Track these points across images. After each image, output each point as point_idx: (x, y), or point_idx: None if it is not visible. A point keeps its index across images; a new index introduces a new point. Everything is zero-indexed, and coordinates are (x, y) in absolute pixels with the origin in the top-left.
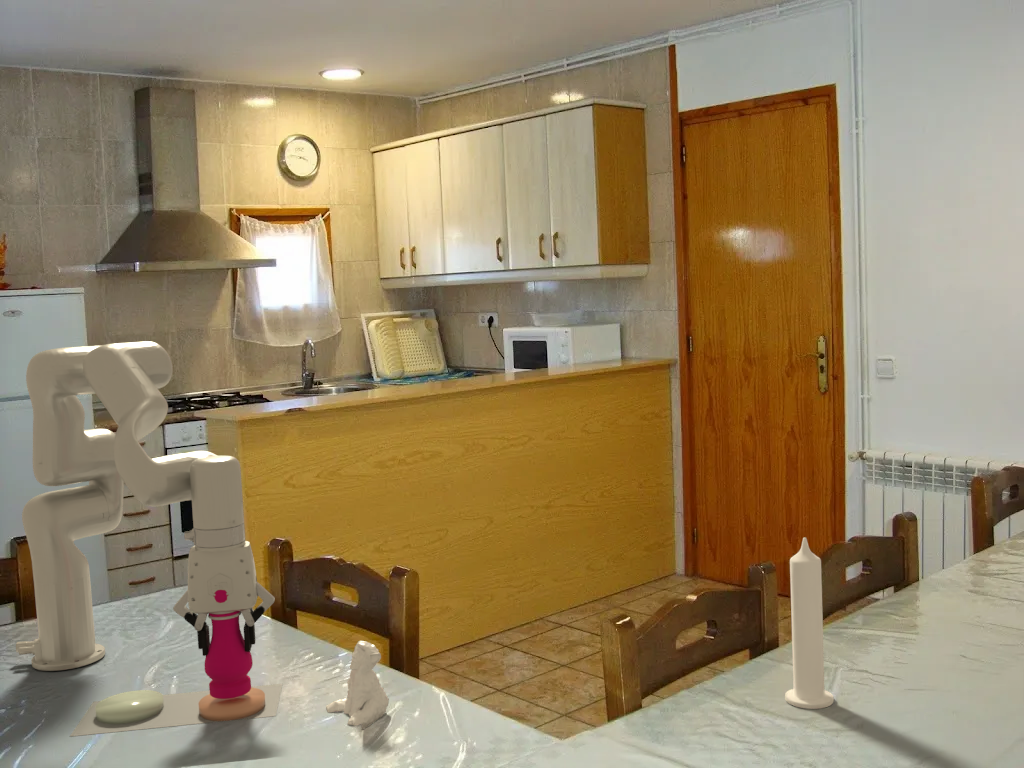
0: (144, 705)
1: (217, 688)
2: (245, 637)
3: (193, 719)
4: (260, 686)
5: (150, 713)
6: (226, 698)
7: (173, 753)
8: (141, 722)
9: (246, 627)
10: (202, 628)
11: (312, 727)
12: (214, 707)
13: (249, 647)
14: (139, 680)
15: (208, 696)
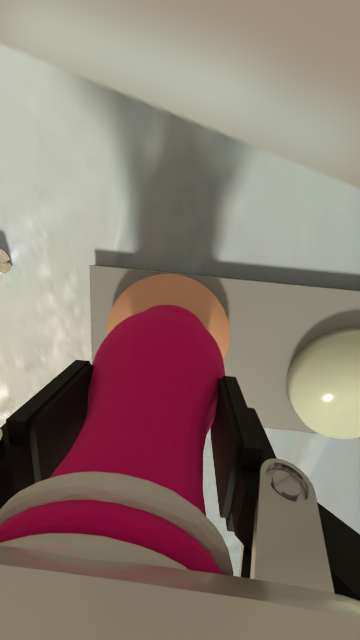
0: (329, 363)
1: (191, 317)
2: (58, 388)
3: (236, 302)
4: None
5: (313, 344)
6: (174, 305)
7: (271, 185)
8: (327, 322)
9: (15, 419)
10: (256, 477)
11: (30, 224)
12: (199, 303)
13: (70, 366)
14: None
15: None
